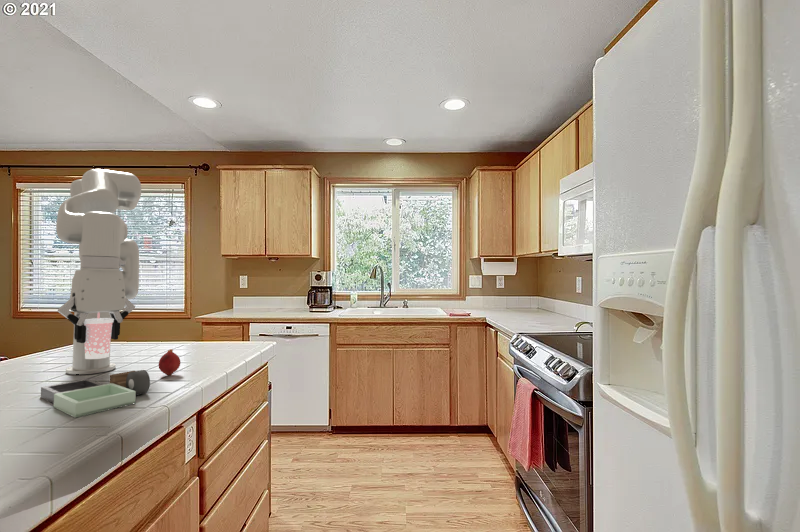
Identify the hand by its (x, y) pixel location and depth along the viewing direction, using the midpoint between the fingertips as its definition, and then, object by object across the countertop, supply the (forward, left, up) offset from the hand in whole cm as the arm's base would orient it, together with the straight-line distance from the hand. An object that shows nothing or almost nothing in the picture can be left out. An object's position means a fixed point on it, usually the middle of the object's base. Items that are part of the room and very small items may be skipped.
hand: (97, 339), depth 97 cm
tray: (0, 0, -15) cm, 15 cm away
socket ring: (-13, 0, -15) cm, 20 cm away
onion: (-15, +25, -16) cm, 33 cm away
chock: (-8, +10, -16) cm, 20 cm away
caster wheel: (-2, +10, -15) cm, 18 cm away
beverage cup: (0, 0, -4) cm, 4 cm away
